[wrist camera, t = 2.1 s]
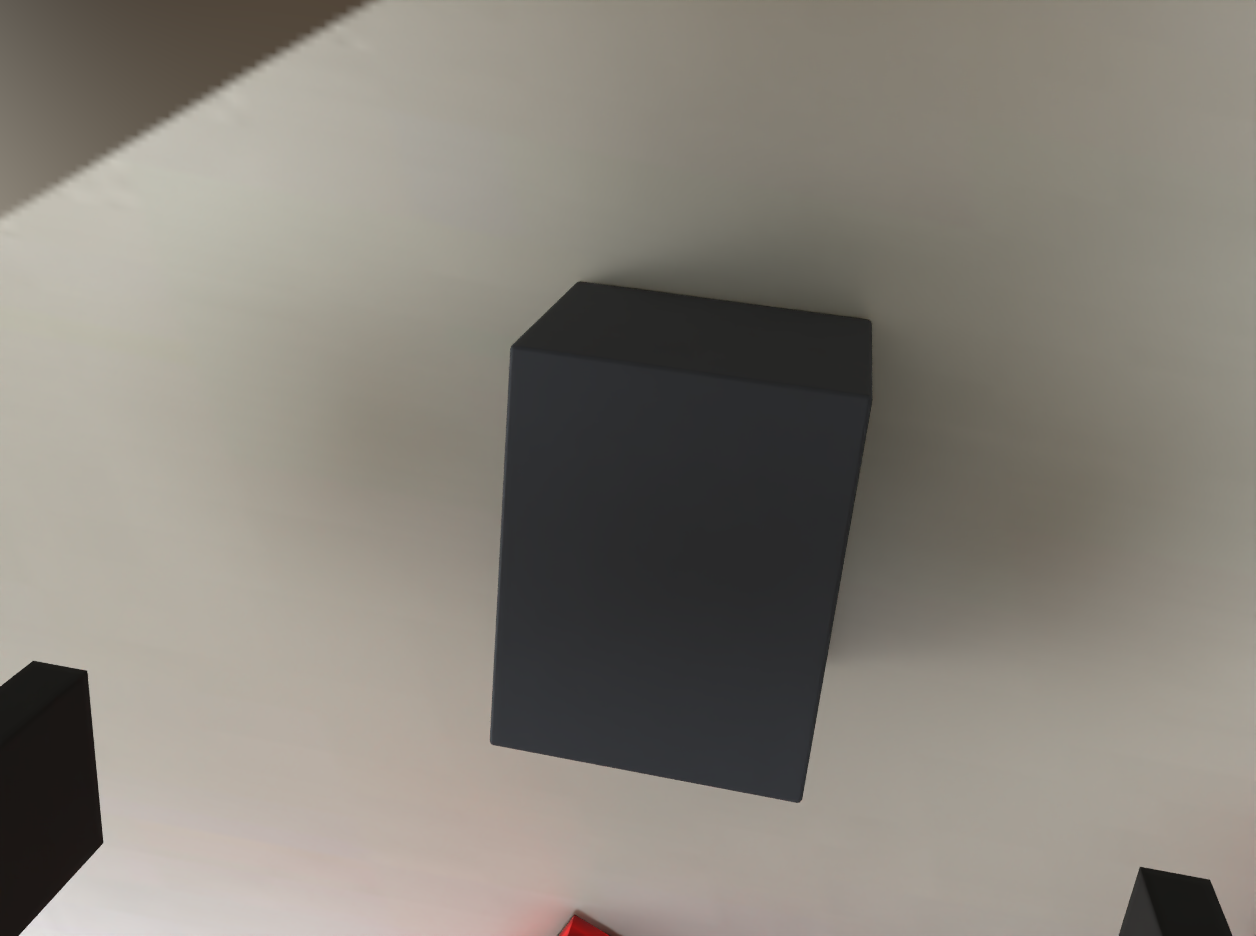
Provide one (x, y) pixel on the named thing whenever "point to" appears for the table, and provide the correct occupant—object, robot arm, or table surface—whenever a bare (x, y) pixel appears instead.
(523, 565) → the dark gray rectangular block
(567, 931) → the french fries container
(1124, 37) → the table surface
